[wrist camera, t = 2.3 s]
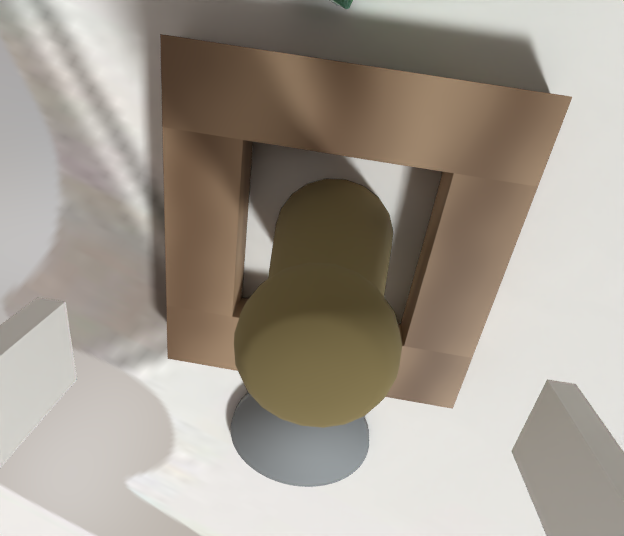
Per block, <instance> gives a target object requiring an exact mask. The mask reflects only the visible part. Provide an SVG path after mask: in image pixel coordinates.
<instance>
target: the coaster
mask: <svg viewBox="0 0 624 536" xmlns="http://www.w3.org/2000/svg"><path fill="white" fill-rule="evenodd" d="M231 437H232V441H233V444H234V447H235V448H236V450H237V452H238V454H239V455H240V456H241V458H242V459H243V460H244V461H245V462H246V463H247V464H248V465H249V466H250V467H251V468H253V469H254V470H256V471H257V472H258V473H260V474H262V475H264V476H266V477H267V478H270V479H272V480H275V481H278V482H281V483H284V484H288V485H294V486H305V487H312V486H322V485H327V484H332V483H335V482H337V481H340V480H342V479H344V478H346V477H348V476H349V475H351V474H352V473H353V472H355V471H356V470H357V469H358V468H359V467H360V465H361V464H362V463H363V461H364V459H365V458H366V455H367V452H368V448H369V430H368V425H367V422H366V419H365V417H364V416H363V417H361V418H359V419H356V420H354V421H352V422H349V423H347V424H345V425H338V426H331V427H324V428H321V427H310V426H301V425H298V424H295V423H292V422H289V421H286V420H283V419H280V418H278V417H277V416H275V415H274V414H272V413H270V412H269V411H267V410H266V409H264V408H262V407H261V406H260V404H259V403H258V402H257V401H256V400H255V399H254V398H253V397H252V396H251V395H250V394H249V392H248V393H247V394H246V395H245V396H244V397H243V398H242V400H241V401H240V402H239V404H238V406H237V407H236V410H235V413H234V416H233V418H232V422H231Z"/></svg>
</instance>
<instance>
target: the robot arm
mask: <svg viewBox="0 0 624 536" xmlns="http://www.w3.org/2000/svg"><path fill="white" fill-rule="evenodd" d="M76 380H77V376H76V369H75V362H74V356H73V349H72V342H71V335H70V329H69V322H68V315H67V309H66V302H65V301H59V300H53V299H47V298H41V297H37V298H36V299H35V300H33V301H32V302H31V303H29V304H28V305H27V306H25V307H24V308H23V309H21V310H20V311H19V312H17V313H16V314H14V315H13V316H12V317H10V318H9V319H8V320H6V321H5V322H4V323H3V324H1V325H0V468H1V467H2V466H3V464H4V463H5V462H6V461H7V460H8V459H9V458H10V456H11V455H12V454H13V453H14V452H15V451H16V450H17V448H18V447H19V446H20V445H21V444H22V443H23V441H24V440H25V439H26V438H27V436H28V435H30V433H31V432H32V431H33V430H34V429H35V428H36V426H37V425H38V424H39V423H40V422H41V421H42V419H43V418H44V417H45V416H46V415H47V414H48V413H49V411H50V410H51V409H52V408H53V407H54V406H55V404H56V403H57V402H58V401H59V400H60V399H61V398H62V396H63V395H64V394H65V393H66V392H67V391H68V389H69V388H70V387H71V386H72V385H73V384H74V383H75V381H76ZM512 453H513V456H514V458H515V461H516V463H517V465H518V468H519V470H520V473H521V475H522V477H523V480H524V482H525V485H526V487H527V490H528V492H529V494H530V497H531V499H532V502H533V504H534V506H535V509H536V511H537V514H538V516H539V518H540V521H541V523H542V526H543V528H544V531H545V533H546V535H547V536H624V452H623V451H622V449H621V448H620V446H619V445H618V443H617V442H616V441H615V439H614V438H613V436H612V435H611V433H610V432H609V431H608V429H607V428H606V426H605V425H604V423H603V422H602V421H601V419H600V418H599V416H598V415H597V413H596V412H595V411H594V409H593V408H592V406H591V405H590V404H589V402H588V401H587V399H586V398H585V396H584V395H583V394H582V392H581V391H580V389H579V388H578V386H577V385H576V384H572V383H566V382H559V381H553V380H547V381H546V383H545V385H544V387H543V389H542V391H541V393H540V395H539V397H538V399H537V401H536V403H535V405H534V407H533V409H532V411H531V413H530V415H529V417H528V419H527V421H526V423H525V425H524V427H523V429H522V431H521V433H520V435H519V437H518V439H517V441H516V443H515V445H514V447H513V449H512Z"/></svg>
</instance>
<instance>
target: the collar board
mask: <svg viewBox="0 0 624 536" xmlns="http://www.w3.org/2000/svg"><path fill="white" fill-rule="evenodd" d="M160 37H161V81H162V126H163V170H164V215H165V259H166V304H167V348H168V359H174V360H180V361H185V362H191V363H197V364H202V365H208V366H214V367H219V368H225V369H231V370H237V371H238V369H237V367H236V365H235V353H234V332H235V329H236V326H237V323H238V320H239V317H240V313H241V311H242V309H243V307H244V305H245V303H246V302H247V300H248V299H247V298H242V288H243V274H244V260H245V246H246V232H247V217H248V203H249V189H250V175H251V161H252V147H253V142H260V143H266V144H272V145H279V146H285V147H291V148H297V149H304V150H310V151H316V152H323V153H329V154H335V155H342V156H348V157H354V158H360V159H367V160H373V161H379V162H386V163H392V164H398V165H405V166H411V167H417V168H423V169H430V170H436V171H442V172H443V173H442V177H441V180H440V184H439V187H438V191H437V195H436V198H435V202H434V205H433V209H432V213H431V216H430V220H429V224H428V227H427V231H426V234H425V238H424V242H423V245H422V249H421V253H420V256H419V260H418V263H417V267H416V271H415V274H414V278H413V282H412V285H411V289H410V292H409V296H408V300H407V303H406V307H405V310H404V314H403V318H402V321H401V325H400V324H398V327H399V331H400V336H401V341H402V351H401V358H400V366H399V370H398V374H397V378H396V380H395V381H394V383H393V385H392V387H391V388H390V390H389V392H388V394H387V395H386V397H390V398H396V399H402V400H407V401H413V402H419V403H424V404H430V405H436V406H442V407H447V408H453V406H454V404H455V401H456V398H457V396H458V393H459V391H460V388H461V385H462V383H463V380H464V378H465V375H466V372H467V370H468V367H469V365H470V362H471V359H472V357H473V354H474V352H475V349H476V346H477V344H478V341H479V339H480V336H481V333H482V331H483V328H484V326H485V323H486V320H487V318H488V315H489V312H490V310H491V307H492V305H493V302H494V299H495V297H496V294H497V292H498V289H499V286H500V284H501V281H502V279H503V276H504V273H505V271H506V268H507V266H508V263H509V260H510V258H511V255H512V253H513V250H514V247H515V245H516V242H517V240H518V237H519V234H520V232H521V229H522V227H523V224H524V221H525V219H526V216H527V214H528V211H529V208H530V206H531V203H532V201H533V198H534V195H535V193H536V190H537V188H538V185H539V182H540V180H541V177H542V174H543V172H544V169H545V167H546V164H547V161H548V159H549V156H550V154H551V151H552V148H553V146H554V143H555V141H556V138H557V135H558V133H559V130H560V128H561V125H562V122H563V120H564V117H565V115H566V112H567V109H568V107H569V104H570V102H571V99H572V97H570V96H564V95H557V94H550V93H544V92H537V91H531V90H524V89H517V88H511V87H504V86H498V85H491V84H485V83H478V82H471V81H465V80H458V79H452V78H445V77H438V76H432V75H425V74H419V73H412V72H406V71H399V70H392V69H386V68H379V67H373V66H366V65H359V64H353V63H346V62H340V61H333V60H327V59H320V58H313V57H307V56H300V55H294V54H287V53H281V52H274V51H267V50H261V49H254V48H248V47H241V46H234V45H228V44H221V43H215V42H208V41H202V40H195V39H188V38H182V37H175V36H169V35H162V34H160Z"/></svg>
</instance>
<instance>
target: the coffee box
mask: <svg viewBox="0 0 624 536" xmlns="http://www.w3.org/2000/svg"><path fill="white" fill-rule="evenodd" d="M330 1H331V2H333V3H335V4H336V5H338V6H341V7H343V8H345V9H349V7H350V5H351V3H352V1H353V0H330Z"/></svg>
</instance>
